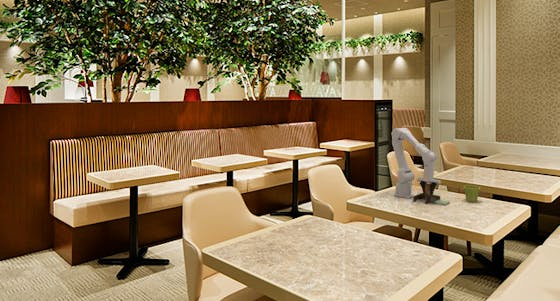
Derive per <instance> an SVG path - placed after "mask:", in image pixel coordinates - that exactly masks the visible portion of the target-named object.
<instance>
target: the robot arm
mask: <svg viewBox="0 0 560 301" xmlns="http://www.w3.org/2000/svg"><path fill="white" fill-rule="evenodd" d="M404 140H407V141H408V143H410V144H411V145H412V146H413V147H414V148H415V151H416V152H417V153H418V154H419V155H420V157H422V162H423V177H416V179H415V174H414V172H413V171H412V168H410V167H409V165H408V162H407V159H406V154H405V152H404V149H403V145H402V143H403V141H404ZM391 144H392V147H393V152H394V156H395V158H396V161H397V166H398V171H397V180H398V181H397V182H396V184H395V193H394V196H395V197H399V198H405V199H410V198H413V196H415V195H414V194H412V192H413V191H412V188H413V185H412V184H413V181H414V180H416V182H419V186H420V187H421V190H422V193H423V194H425V184H430V187H431V193H430V194H431V195H434V191H435V190H436V187H437V185H441V184H442V180H440V179H436V178H434V177H435V174H434V173H435V161H436V160H437V154H436V153H435V152H434V151H431V150H430V149H429V148H428V147H427V146H426V144H423V143H420V142H419V141H418V140H417V138H416V137H414V135H413V134H412V133H411V131H410V129H409V128H407V127H400V128H399V127H396V128H393V129H392V131H391Z"/></svg>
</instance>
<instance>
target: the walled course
mask: <svg viewBox="0 0 560 301" xmlns="http://www.w3.org/2000/svg"><path fill="white" fill-rule="evenodd" d="M412 198H413V199H412V200H413V203H415V202H417V201H419V200H425V202H424V203H425V205H427V204H430V205H431V204H432V205H436V204H435V201H437V200H441V195H439V194H438V195H437V194H433V195H432V197H427V198H425V194H423V192H420V193H417V194H415V195H414V196H413V197H412Z"/></svg>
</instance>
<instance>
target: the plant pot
mask: <svg viewBox="0 0 560 301" xmlns="http://www.w3.org/2000/svg"><path fill="white" fill-rule="evenodd" d="M463 189H464V193H465V194H464V196H465V201H467V202H468V203H477V202H478V198H479V193H480V190H481V187H480V186H477V185H464V186H463Z"/></svg>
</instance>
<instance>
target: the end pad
mask: <svg viewBox="0 0 560 301" xmlns="http://www.w3.org/2000/svg"><path fill="white" fill-rule="evenodd" d="M450 203H451V202H450V201H448V200H442V199H440V200H437V201H435V204H434V205H440V206H447V205H450Z"/></svg>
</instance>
